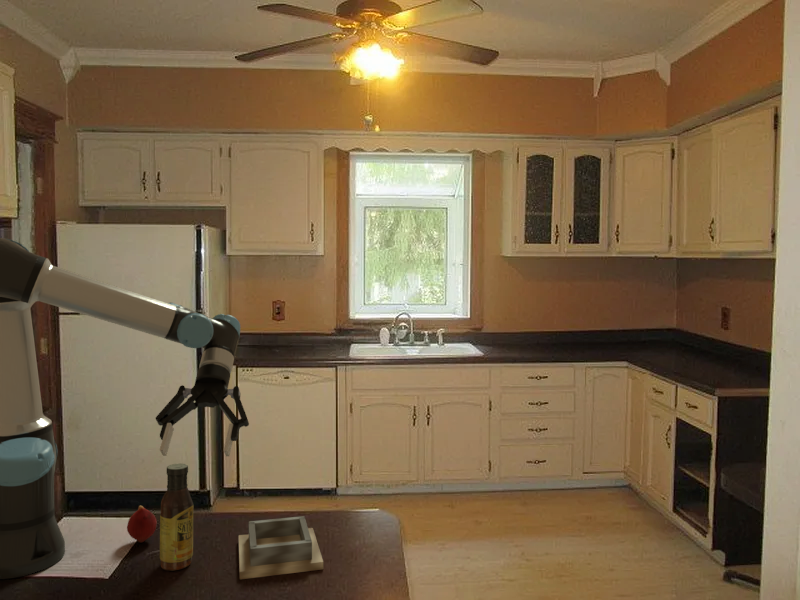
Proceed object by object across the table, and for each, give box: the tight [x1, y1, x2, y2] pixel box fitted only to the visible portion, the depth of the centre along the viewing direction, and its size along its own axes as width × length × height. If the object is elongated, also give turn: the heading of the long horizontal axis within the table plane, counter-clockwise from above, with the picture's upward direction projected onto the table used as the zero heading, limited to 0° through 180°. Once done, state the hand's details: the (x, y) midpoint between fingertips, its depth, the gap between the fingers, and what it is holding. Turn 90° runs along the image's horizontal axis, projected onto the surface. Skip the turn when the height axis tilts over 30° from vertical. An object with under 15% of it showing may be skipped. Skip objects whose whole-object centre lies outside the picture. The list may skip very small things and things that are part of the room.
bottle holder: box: [238, 515, 324, 580], centre depth 125 cm, size 16×16×5 cm
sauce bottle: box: [159, 462, 194, 572], centre depth 120 cm, size 6×6×20 cm
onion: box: [126, 505, 158, 543], centre depth 130 cm, size 6×6×8 cm
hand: (194, 453), depth 130 cm, fingers open, 13 cm apart
